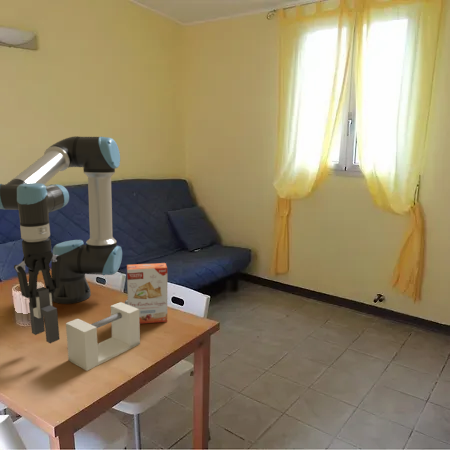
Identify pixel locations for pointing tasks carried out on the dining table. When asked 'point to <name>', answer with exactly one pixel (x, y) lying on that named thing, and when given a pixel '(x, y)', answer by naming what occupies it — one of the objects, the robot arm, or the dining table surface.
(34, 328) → the grey zigzag block
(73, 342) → the cream rod holder
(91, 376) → the dining table surface
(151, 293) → the cracker box
